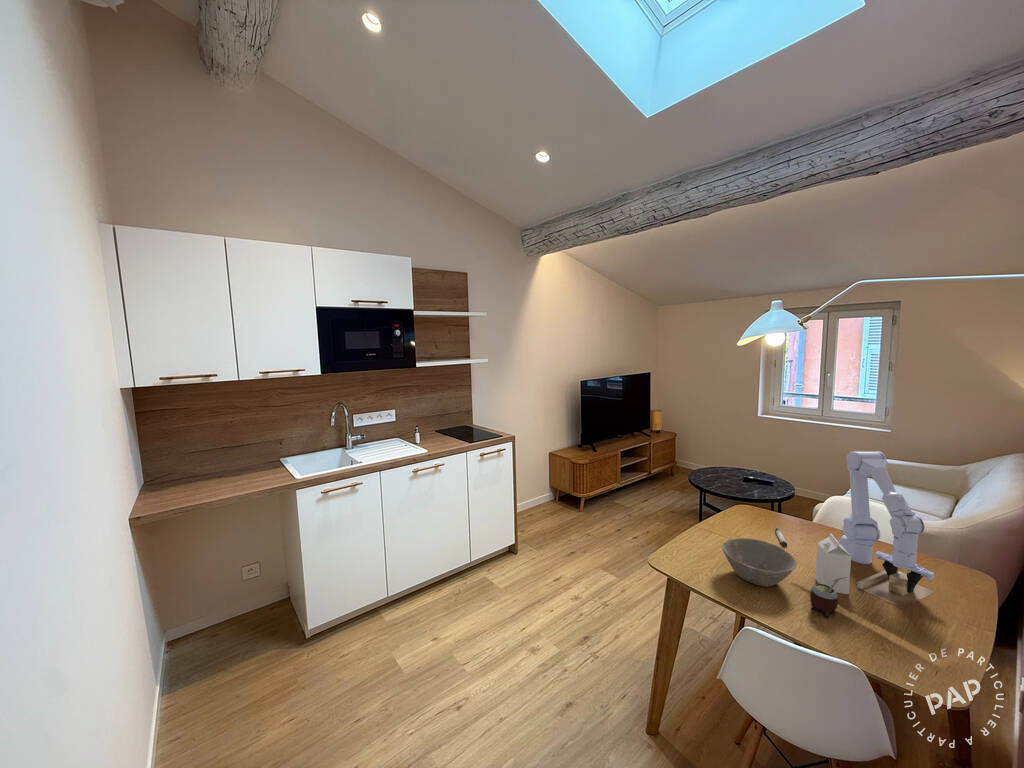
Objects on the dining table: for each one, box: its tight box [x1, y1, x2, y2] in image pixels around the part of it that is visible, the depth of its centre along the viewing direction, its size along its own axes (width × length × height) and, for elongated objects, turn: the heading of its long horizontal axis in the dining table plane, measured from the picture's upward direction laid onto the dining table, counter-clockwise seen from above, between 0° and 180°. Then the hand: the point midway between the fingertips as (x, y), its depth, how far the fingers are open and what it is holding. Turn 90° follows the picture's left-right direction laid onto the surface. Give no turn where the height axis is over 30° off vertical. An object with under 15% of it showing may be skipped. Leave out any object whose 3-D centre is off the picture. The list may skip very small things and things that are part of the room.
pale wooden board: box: [856, 569, 935, 610], centre depth 135 cm, size 12×20×4 cm, turn 112°
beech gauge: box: [889, 570, 914, 596], centre depth 134 cm, size 4×6×5 cm, turn 112°
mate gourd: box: [809, 577, 847, 619], centre depth 127 cm, size 8×8×15 cm
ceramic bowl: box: [721, 537, 797, 588], centre depth 145 cm, size 22×23×10 cm
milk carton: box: [815, 533, 852, 595], centre depth 137 cm, size 7×7×19 cm
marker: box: [774, 527, 788, 548], centre depth 174 cm, size 15×2×2 cm, turn 158°
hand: (901, 587), depth 135 cm, fingers closed on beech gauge, 4 cm apart
